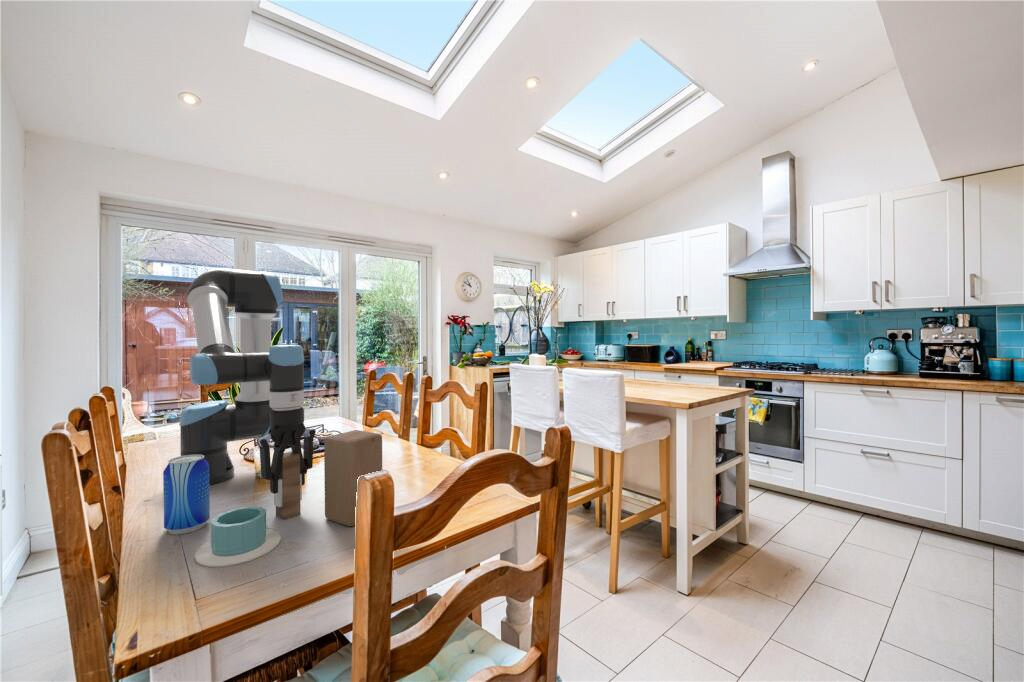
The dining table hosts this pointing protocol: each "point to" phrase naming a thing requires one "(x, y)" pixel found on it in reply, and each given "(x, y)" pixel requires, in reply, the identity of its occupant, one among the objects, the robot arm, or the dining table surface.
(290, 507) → the tall brown block
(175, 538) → the dining table surface
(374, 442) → the wooden block
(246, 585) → the dining table surface
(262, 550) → the teal cup on saucer
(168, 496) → the beer can
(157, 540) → the dining table surface
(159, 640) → the dining table surface
